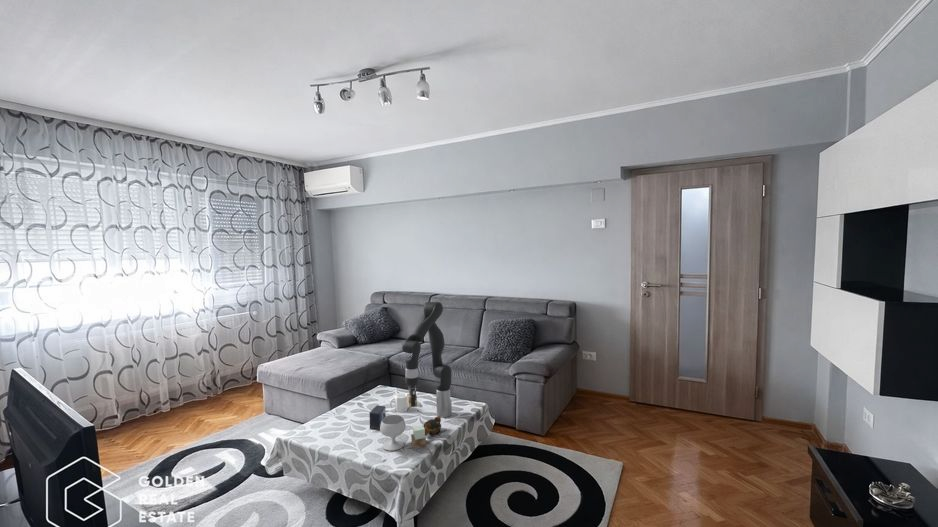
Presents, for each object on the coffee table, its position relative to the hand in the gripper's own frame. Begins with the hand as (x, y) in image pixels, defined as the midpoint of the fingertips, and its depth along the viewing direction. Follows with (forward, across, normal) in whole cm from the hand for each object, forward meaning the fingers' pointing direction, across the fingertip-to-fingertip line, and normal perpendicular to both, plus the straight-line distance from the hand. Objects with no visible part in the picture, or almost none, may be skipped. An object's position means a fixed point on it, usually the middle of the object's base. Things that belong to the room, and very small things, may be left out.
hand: (412, 404), depth 222 cm
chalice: (+20, -4, +12) cm, 24 cm away
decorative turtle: (+20, +2, -12) cm, 23 cm away
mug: (+20, +40, +4) cm, 44 cm away
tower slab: (+20, -8, -2) cm, 22 cm away
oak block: (+1, 0, 0) cm, 1 cm away
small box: (+20, +22, +19) cm, 35 cm away
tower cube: (+15, -8, -2) cm, 17 cm away
